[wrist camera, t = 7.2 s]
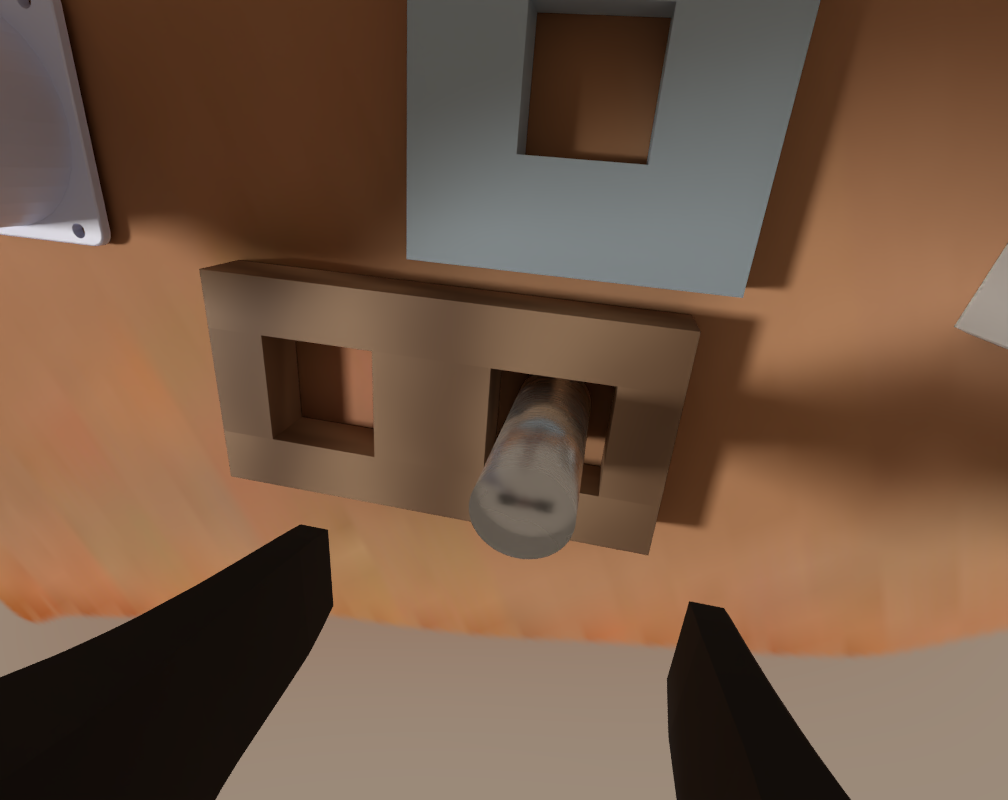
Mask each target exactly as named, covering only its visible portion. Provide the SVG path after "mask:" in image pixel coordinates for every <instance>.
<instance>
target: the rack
mask: <svg viewBox="0 0 1008 800" xmlns="http://www.w3.org/2000/svg"><path fill="white" fill-rule="evenodd" d="M199 270H200V277H201V283H202V290H203V296H204V303H205V309H206V316H207V322H208V329H209V335H210V342H211V348H212V355H213V361H214V368H215V375H216V381H217V388H218V394H219V401H220V407H221V414H222V420H223V427H224V433H225V440H226V446H227V453H228V459H229V466H230V472H231V476H233V477H238V478H243V479H249V480H254V481H259V482H264V483H270V484H275V485H280V486H285V487H291V488H296V489H301V490H307V491H312V492H317V493H322V494H328V495H333V496H338V497H344V498H349V499H354V500H359V501H365V502H370V503H375V504H381V505H386V506H391V507H396V508H402V509H407V510H412V511H417V512H423V513H428V514H433V515H439V516H444V517H449V518H454V519H460V520H465V521H470V522H471V519H470V515H469V500H470V496H471V493H472V491H473V489H474V487H475V485H476V483H477V481H478V478H479V476H480V474H481V472H482V470H483V468H484V466H485V463H486V461H487V459H488V457H489V455H490V453H491V451H492V449H493V446H494V444H495V442H496V433H497V421H498V408H499V396H500V383H501V371H502V370H506V371H513V372H520V373H527V374H534V375H541V376H548V377H555V378H562V379H569V380H576V381H583V382H589V383H596V384H603V385H610V386H615V388H614V394H613V399H612V405H611V411H610V417H609V422H608V428H607V434H606V440H605V445H604V451H603V457H602V463H601V467H599V466H593V465H587V464H583V471H582V478H581V486H580V494H579V502H578V509H577V517H576V525H575V529H574V532H573V534H572V537H571V538H570V540H571V541H576V542H581V543H586V544H592V545H597V546H602V547H608V548H613V549H618V550H623V551H629V552H634V553H639V554H644V555H649V550H650V546H651V542H652V537H653V533H654V529H655V525H656V520H657V516H658V512H659V508H660V503H661V499H662V495H663V491H664V486H665V482H666V478H667V474H668V469H669V465H670V461H671V457H672V452H673V448H674V444H675V439H676V435H677V431H678V427H679V422H680V418H681V414H682V410H683V405H684V401H685V397H686V393H687V388H688V384H689V380H690V376H691V371H692V367H693V363H694V358H695V354H696V350H697V346H698V341H699V337H700V333H701V332H700V330H699V328H698V326H697V324H696V322H695V320H694V318H693V316H692V315H687V314H679V313H670V312H662V311H654V310H646V309H637V308H629V307H621V306H613V305H604V304H596V303H588V302H580V301H571V300H563V299H555V298H547V297H538V296H530V295H522V294H514V293H505V292H497V291H489V290H481V289H472V288H464V287H456V286H448V285H439V284H431V283H423V282H415V281H406V280H398V279H390V278H382V277H373V276H365V275H357V274H349V273H340V272H332V271H324V270H316V269H307V268H299V267H291V266H282V265H274V264H266V263H258V262H249V261H241V260H237V261H233V262H228V263H224V264H220V265H215V266H211V267H206V268H202V269H199ZM295 340H297V341H304V342H311V343H318V344H325V345H332V346H339V347H346V348H353V349H360V350H367V351H372V377H373V417H374V429H371V428H365V427H359V426H353V425H347V424H341V423H335V422H329V421H323V420H317V419H311V418H305V417H302V412H301V400H300V388H299V377H298V365H297V354H296V342H295Z"/></svg>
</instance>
